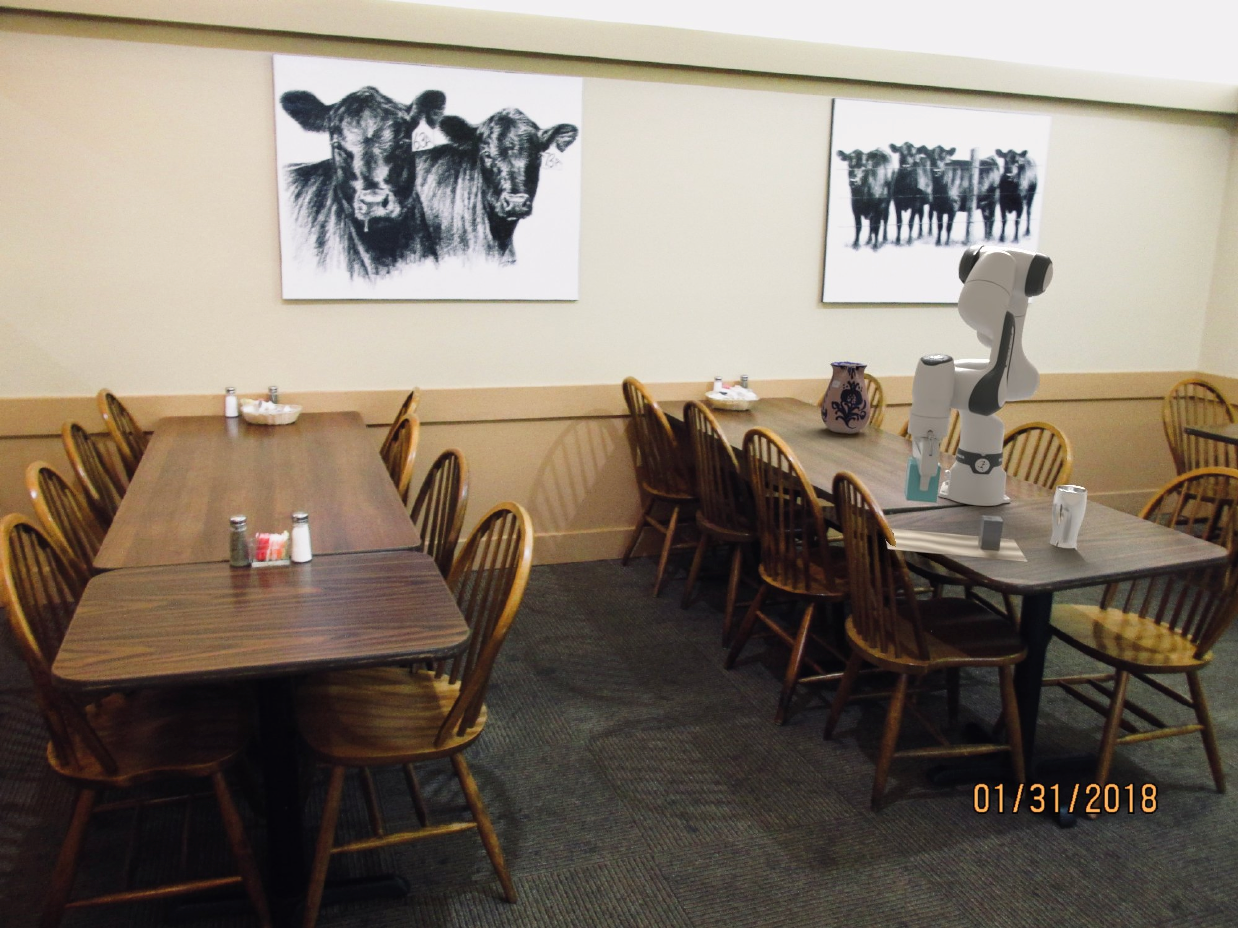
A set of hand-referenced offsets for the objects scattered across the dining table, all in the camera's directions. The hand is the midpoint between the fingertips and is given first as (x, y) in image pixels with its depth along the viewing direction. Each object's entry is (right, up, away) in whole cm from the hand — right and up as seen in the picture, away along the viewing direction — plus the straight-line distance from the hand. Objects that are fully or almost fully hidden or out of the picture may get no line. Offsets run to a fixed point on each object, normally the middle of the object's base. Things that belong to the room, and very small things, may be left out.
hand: (921, 485), depth 220 cm
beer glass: (+35, -16, +4) cm, 38 cm away
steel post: (+15, -14, 0) cm, 21 cm away
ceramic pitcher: (+13, +17, +131) cm, 133 cm away
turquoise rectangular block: (0, -3, +1) cm, 3 cm away
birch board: (+8, -15, +2) cm, 17 cm away
